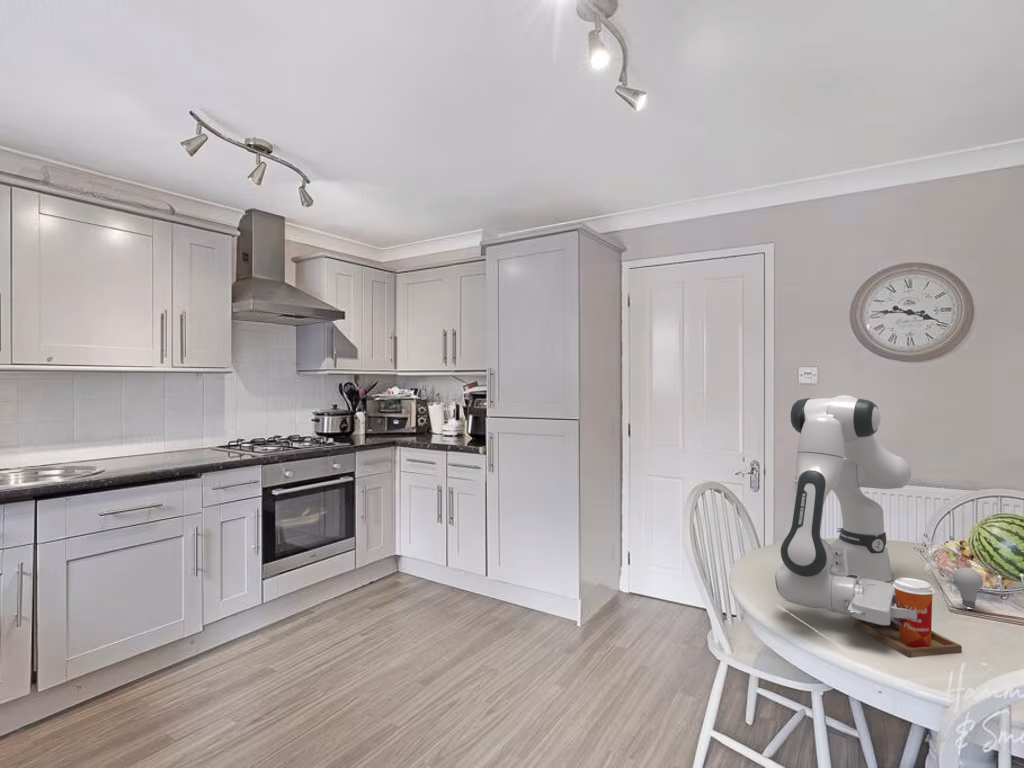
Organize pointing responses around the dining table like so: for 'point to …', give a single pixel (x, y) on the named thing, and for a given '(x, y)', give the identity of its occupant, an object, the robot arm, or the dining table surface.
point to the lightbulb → (968, 585)
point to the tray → (893, 640)
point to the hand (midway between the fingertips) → (917, 609)
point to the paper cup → (920, 600)
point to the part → (895, 624)
